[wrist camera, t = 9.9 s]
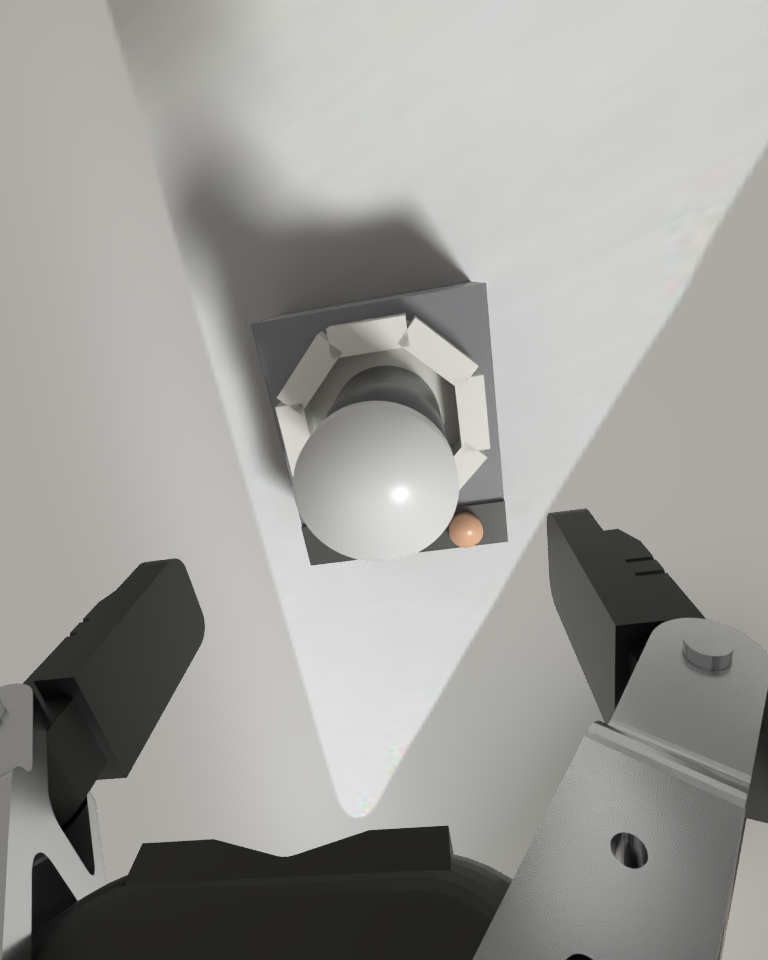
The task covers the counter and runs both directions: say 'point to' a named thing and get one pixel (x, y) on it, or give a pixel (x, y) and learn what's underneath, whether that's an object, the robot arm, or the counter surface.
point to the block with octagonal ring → (410, 345)
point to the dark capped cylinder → (378, 469)
